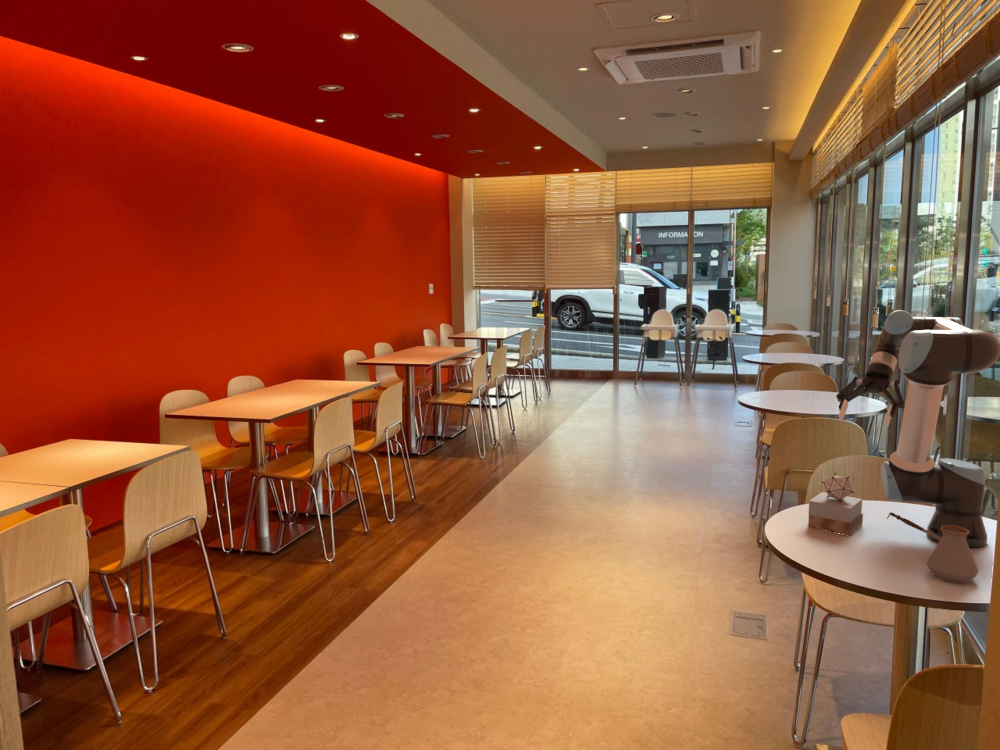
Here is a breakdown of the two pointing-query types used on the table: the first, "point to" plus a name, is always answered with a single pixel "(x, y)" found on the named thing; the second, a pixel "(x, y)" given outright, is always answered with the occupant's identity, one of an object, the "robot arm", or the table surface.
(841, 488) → the game die
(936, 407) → the robot arm
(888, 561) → the table surface
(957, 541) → the coffee pot
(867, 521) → the table surface
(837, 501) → the tower top slab
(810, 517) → the tower bottom slab
